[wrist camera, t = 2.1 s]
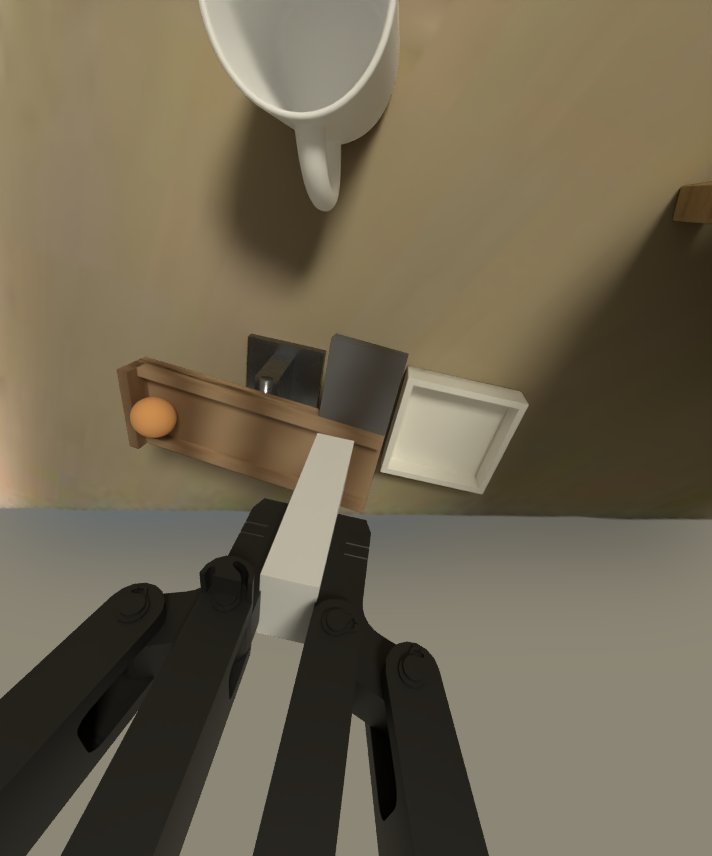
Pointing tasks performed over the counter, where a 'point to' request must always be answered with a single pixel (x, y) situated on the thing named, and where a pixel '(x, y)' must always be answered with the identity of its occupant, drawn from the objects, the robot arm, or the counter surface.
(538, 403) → the counter surface
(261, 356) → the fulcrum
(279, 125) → the counter surface
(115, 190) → the counter surface
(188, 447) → the plank
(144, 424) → the ball
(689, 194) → the planter
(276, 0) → the mug
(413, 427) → the dish
